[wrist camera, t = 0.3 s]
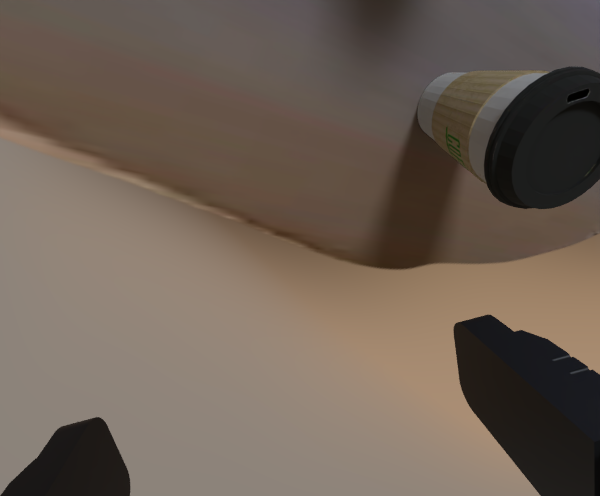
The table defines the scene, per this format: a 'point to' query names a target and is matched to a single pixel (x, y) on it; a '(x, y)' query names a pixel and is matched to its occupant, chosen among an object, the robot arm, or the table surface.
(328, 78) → the table surface
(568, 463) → the robot arm
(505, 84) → the coffee cup
